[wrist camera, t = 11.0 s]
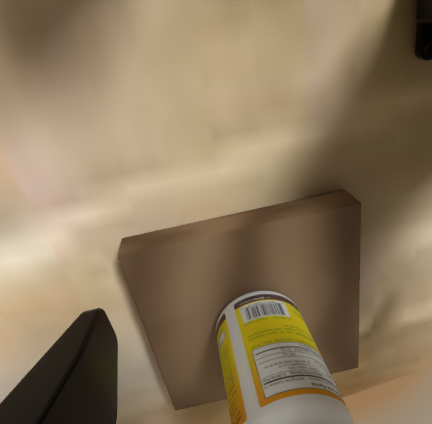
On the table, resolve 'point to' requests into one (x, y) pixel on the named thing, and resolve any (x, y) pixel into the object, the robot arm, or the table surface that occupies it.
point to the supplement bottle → (274, 365)
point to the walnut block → (246, 284)
